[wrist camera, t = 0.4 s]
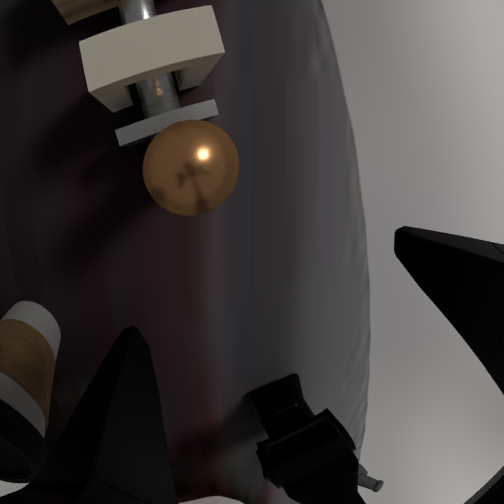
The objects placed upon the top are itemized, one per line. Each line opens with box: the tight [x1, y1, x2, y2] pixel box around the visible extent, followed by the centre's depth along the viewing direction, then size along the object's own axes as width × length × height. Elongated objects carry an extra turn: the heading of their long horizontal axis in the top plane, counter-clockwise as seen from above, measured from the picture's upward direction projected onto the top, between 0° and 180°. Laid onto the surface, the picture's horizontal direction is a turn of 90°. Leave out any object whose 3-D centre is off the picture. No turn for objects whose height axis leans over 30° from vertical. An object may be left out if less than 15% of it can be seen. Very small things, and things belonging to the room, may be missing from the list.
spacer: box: [79, 5, 225, 112], centre depth 14 cm, size 3×7×8 cm, turn 104°
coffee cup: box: [0, 301, 61, 483], centre depth 14 cm, size 8×8×15 cm
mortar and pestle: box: [358, 464, 383, 492], centre depth 41 cm, size 11×9×12 cm
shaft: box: [115, 0, 239, 215], centre depth 11 cm, size 23×6×12 cm, turn 14°
